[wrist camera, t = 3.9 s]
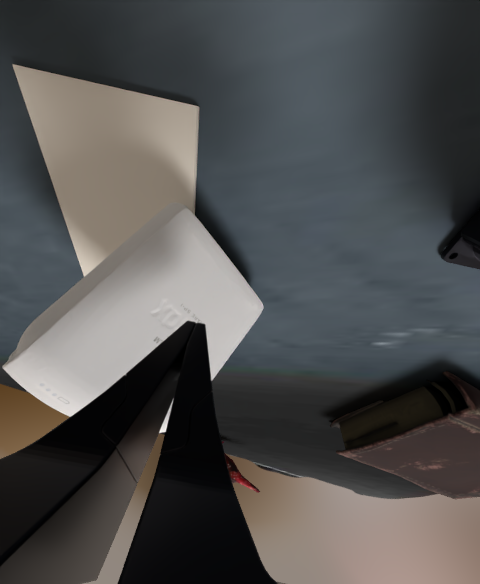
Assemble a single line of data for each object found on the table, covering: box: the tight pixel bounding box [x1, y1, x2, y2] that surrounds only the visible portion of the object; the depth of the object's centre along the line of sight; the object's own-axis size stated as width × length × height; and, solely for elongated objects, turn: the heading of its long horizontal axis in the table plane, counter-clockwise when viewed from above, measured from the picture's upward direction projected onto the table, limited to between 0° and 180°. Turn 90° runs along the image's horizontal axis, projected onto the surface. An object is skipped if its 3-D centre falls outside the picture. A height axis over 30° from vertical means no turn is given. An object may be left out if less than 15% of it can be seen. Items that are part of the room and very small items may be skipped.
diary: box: [330, 371, 480, 499], centre depth 28 cm, size 19×25×5 cm
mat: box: [12, 64, 199, 277], centre depth 16 cm, size 10×16×1 cm, turn 170°
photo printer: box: [2, 202, 264, 433], centre depth 13 cm, size 10×4×12 cm
